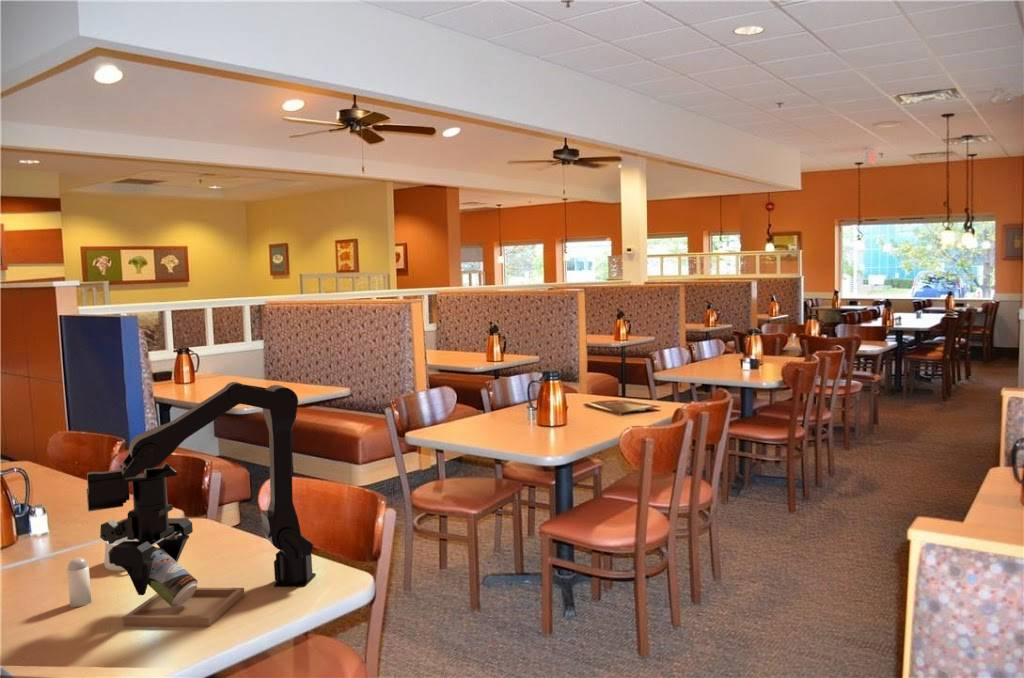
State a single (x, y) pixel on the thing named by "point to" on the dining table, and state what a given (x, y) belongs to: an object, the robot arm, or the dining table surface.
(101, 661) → the dining table surface
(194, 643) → the dining table surface
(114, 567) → the mug
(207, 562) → the dining table surface
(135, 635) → the dining table surface
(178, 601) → the beverage can
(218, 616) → the tray
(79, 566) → the salt shaker
